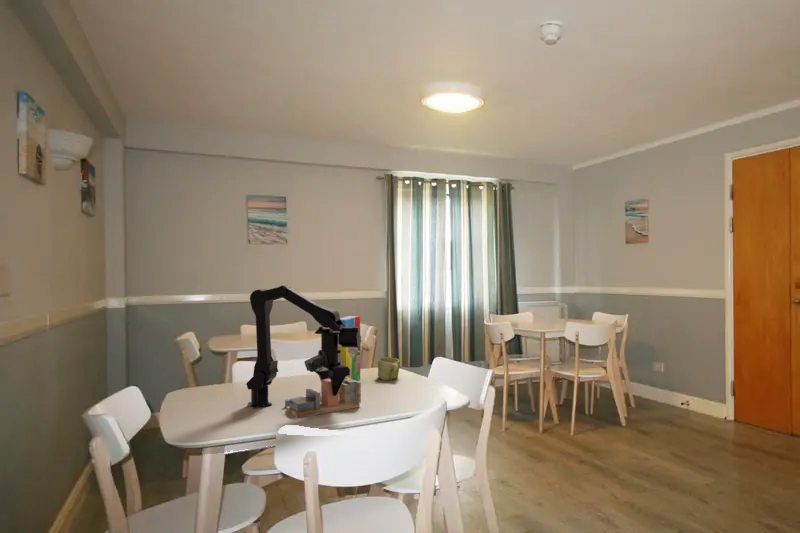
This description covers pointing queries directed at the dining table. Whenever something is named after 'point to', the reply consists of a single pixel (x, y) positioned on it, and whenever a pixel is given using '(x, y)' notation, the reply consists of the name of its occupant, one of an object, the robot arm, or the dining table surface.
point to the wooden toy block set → (347, 399)
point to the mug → (388, 368)
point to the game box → (350, 350)
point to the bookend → (306, 401)
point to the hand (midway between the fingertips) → (329, 393)
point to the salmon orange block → (328, 393)
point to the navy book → (289, 399)
